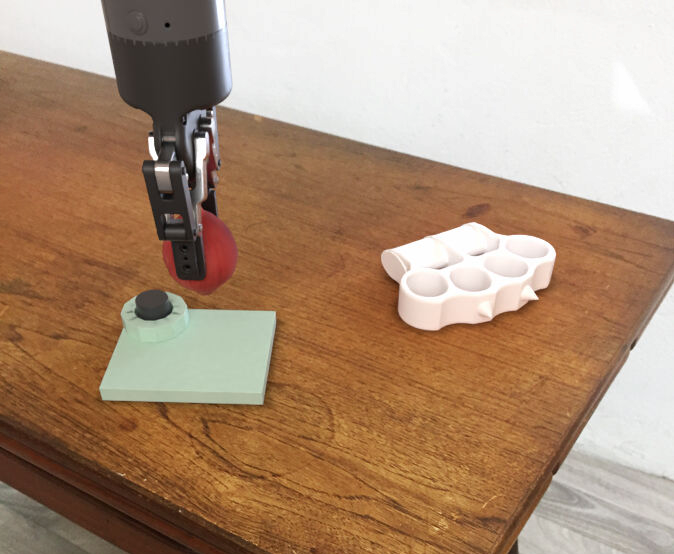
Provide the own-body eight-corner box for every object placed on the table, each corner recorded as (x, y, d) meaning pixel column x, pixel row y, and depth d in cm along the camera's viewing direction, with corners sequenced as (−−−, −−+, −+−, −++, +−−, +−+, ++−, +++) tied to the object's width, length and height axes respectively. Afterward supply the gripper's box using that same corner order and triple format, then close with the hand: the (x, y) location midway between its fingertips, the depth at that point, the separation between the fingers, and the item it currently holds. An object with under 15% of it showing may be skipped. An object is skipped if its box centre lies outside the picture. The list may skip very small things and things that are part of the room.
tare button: (134, 321, 68) (131, 307, 67) (142, 302, 70) (139, 288, 69) (167, 322, 68) (164, 308, 67) (173, 303, 70) (171, 289, 69)
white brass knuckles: (487, 234, 85) (580, 296, 76) (354, 279, 78) (439, 353, 69) (492, 206, 83) (587, 267, 74) (355, 250, 76) (442, 323, 67)
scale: (102, 400, 65) (94, 373, 63) (135, 316, 73) (129, 290, 71) (263, 404, 64) (260, 378, 62) (276, 320, 73) (275, 294, 71)
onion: (163, 281, 62) (146, 190, 57) (230, 268, 64) (220, 178, 58) (179, 320, 58) (162, 226, 53) (249, 305, 60) (241, 212, 54)
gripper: (207, 57, 42) (234, 309, 54) (240, -14, 52) (257, 212, 64) (73, 54, 42) (131, 306, 54) (133, -16, 52) (170, 210, 64)
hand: (199, 254), depth 59 cm, fingers closed on onion, 6 cm apart
